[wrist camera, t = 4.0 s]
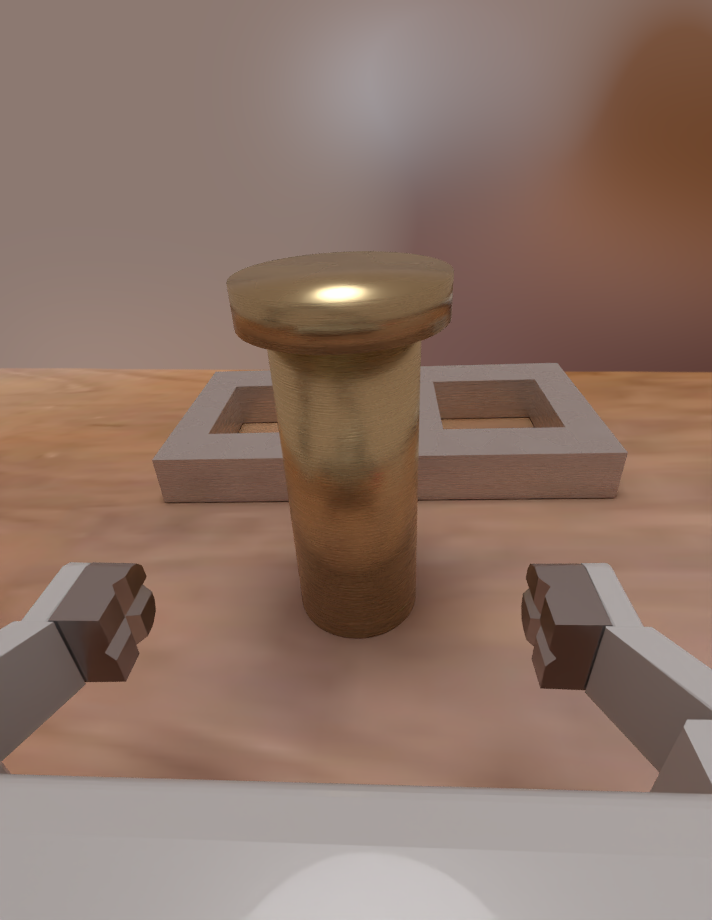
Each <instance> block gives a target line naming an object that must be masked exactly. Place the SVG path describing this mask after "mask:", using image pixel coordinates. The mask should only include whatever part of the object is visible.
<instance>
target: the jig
mask: <svg viewBox="0 0 712 920" xmlns="http://www.w3.org/2000/svg"><path fill="white" fill-rule="evenodd" d="M501 417H530V419H531V421H532V423H533V425H534V427H535V428H496V429H443V427H442V422H441V419H451V418H501ZM252 422H277V415H276V408H275V400H274V393H273V386H272V379H271V372H270V370H269V371H231V372H215V374H214V375H213V376H212V378H211V379H210V381H209V382H208V383H207V385H206V386H205V388H204V389H203V390H202V392H201V393H200V394H199V396H198V397H197V399H196V400H195V401H194V403H193V404H192V406H191V407H190V408H189V410H188V411H187V412H186V414H185V415H184V417H183V418H182V419H181V421H180V422H179V424H178V425H177V426H176V428H175V429H174V430H173V432H172V433H171V435H170V436H169V437H168V439H167V440H166V442H165V443H164V444H163V446H162V447H161V448H160V450H159V451H158V453H157V454H156V455H155V457H154V458H153V460H152V461H153V465H154V468H155V471H156V475H157V478H158V481H159V485H160V488H161V491H162V495H163V498H164V501H165V502H248V501H289V499H288V492H287V485H286V478H285V471H284V464H283V457H282V450H281V443H280V436H279V433H238V432H239V430H240V428H241V426H242V424H243V423H252ZM627 453H628V452H627V451H626V450H625V449H624V447H623V446H622V445H621V443H620V442H619V441H618V440H617V438H616V437H615V436H614V435H613V433H612V432H611V431H610V429H609V428H608V427H607V426H606V424H605V423H604V422H603V421H602V419H601V418H600V417H599V416H598V414H597V413H596V412H595V410H594V409H593V408H592V407H591V405H590V404H589V403H588V402H587V400H586V399H585V398H584V396H583V395H582V394H581V393H580V391H579V390H578V389H577V388H576V386H575V385H574V384H573V382H572V381H571V380H570V379H569V377H568V376H567V375H566V374H565V372H564V371H563V370H562V369H561V367H560V366H559V365H558V363H536V364H499V365H498V364H497V365H459V366H422V367H421V369H420V413H419V458H418V500H438V499H532V498H615V497H616V494H617V490H618V486H619V483H620V479H621V475H622V472H623V468H624V464H625V461H626V457H627Z"/></svg>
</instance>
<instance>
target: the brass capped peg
mask: <svg viewBox="0 0 712 920" xmlns="http://www.w3.org/2000/svg"><path fill="white" fill-rule="evenodd" d="M453 279H454V270H453V267H452V266H451V265H449V264H448V263H446V262H444V261H442V260H439V259H436V258H432V257H428V256H422V255H416V254H408V253H397V252H374V251H357V252H333V253H321V254H312V255H303V256H295V257H289V258H283V259H278V260H273V261H268V262H264V263H261V264H257V265H253V266H250V267H247V268H245V269H242V270H240V271H238V272H236V273H234V274H233V275H232V276H230V277H229V278H228V280H227V283H226V284H227V289H228V296H229V301H230V307H231V312H232V319H233V324H234V330H235V333H236V334H237V335H238V337H240V338H241V339H242V340H243V341H245V342H247V343H249V344H252V345H254V346H257V347H260V348H264V349H267V351H268V358H269V364H270V372H271V379H272V386H273V393H274V400H275V408H276V415H277V422H278V429H279V436H280V443H281V450H282V457H283V464H284V471H285V478H286V485H287V492H288V499H289V506H290V514H291V521H292V528H293V535H294V542H295V549H296V556H297V563H298V570H299V577H300V584H301V591H302V598H303V604H304V608H305V610H306V612H307V614H308V616H309V617H310V619H311V620H312V621H313V622H314V623H315V624H316V625H318V626H319V627H320V628H322V629H323V630H325V631H327V632H329V633H332V634H334V635H338V636H342V637H348V638H366V637H373V636H376V635H380V634H383V633H385V632H388V631H389V630H391V629H393V628H395V627H396V626H398V625H399V624H400V623H401V622H402V621H404V620H405V618H406V617H407V616H408V615H409V613H410V612H411V610H412V608H413V605H414V602H415V591H416V546H417V502H418V458H419V413H420V369H421V340H424V339H427V338H429V337H431V336H433V335H435V334H437V333H439V332H440V331H442V330H443V329H444V328H446V327H447V326H448V324H449V323H450V321H451V316H452V297H453Z"/></svg>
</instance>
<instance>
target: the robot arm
mask: <svg viewBox="0 0 712 920" xmlns="http://www.w3.org/2000/svg"><path fill="white" fill-rule="evenodd" d="M146 577H147V576H146V574H145V572H144V569H143V567H142V565H139V564H133V563H94V562H93V563H76V562H70V563H68V564H66V565H64V566H63V567H62V568H61V569H60V571H59V572H58V573H57V575H56V576H55V577H54V579H53V580H52V581H51V583H50V584H49V585H48V586H47V588H46V589H45V590H44V592H43V593H42V594H41V596H40V597H39V598H38V600H37V601H36V602H35V603H34V605H33V606H32V607H31V609H30V610H29V611H28V613H27V614H26V615H25V617H24V618H23V619H22V620H21V621H14V622H12V623H10V624H9V625H7V626H5V627H4V628H2V629H0V920H712V669H711V668H709V667H708V666H706V665H705V664H704V663H702V662H701V661H699V660H698V659H696V658H695V657H694V656H692V655H691V654H689V653H688V652H687V651H685V650H684V649H682V648H681V647H679V646H678V645H677V644H675V643H674V642H672V641H671V640H670V639H668V638H667V637H665V636H664V635H663V634H661V633H660V632H658V631H657V630H655V629H654V628H653V627H644V626H643V624H642V622H641V620H640V619H639V617H638V615H637V613H636V611H635V609H634V608H633V606H632V604H631V602H630V600H629V598H628V597H627V595H626V593H625V591H624V589H623V587H622V586H621V584H620V582H619V580H618V578H617V576H616V575H615V573H614V571H613V569H612V567H611V566H610V565H609V564H607V563H581V564H530V565H529V567H528V570H527V575H526V580H527V583H528V586H529V589H528V590H527V591H526V592H524V593H523V598H522V605H521V611H522V624H523V629H524V633H525V637H526V640H527V641H528V642H529V643H530V644H532V645H533V646H534V649H533V654H532V662H533V665H534V668H535V672H536V675H537V679H538V682H539V686H540V688H544V689H567V690H586V691H585V693H586V694H587V695H588V696H589V697H590V698H591V699H592V701H593V702H594V703H595V704H596V705H597V706H598V707H599V708H600V709H601V710H602V711H603V712H604V713H605V715H606V716H607V717H608V718H609V719H610V720H611V721H612V722H613V723H614V724H615V725H616V726H617V727H618V728H619V730H620V731H621V732H622V733H623V734H624V735H625V736H626V737H627V738H628V739H629V740H630V741H631V742H632V744H633V745H634V746H635V747H636V748H637V749H638V750H639V751H640V752H641V753H642V754H643V755H644V756H645V757H646V759H647V760H648V761H649V762H650V763H651V764H652V765H653V766H654V767H655V768H656V769H657V770H658V771H659V775H658V777H657V779H656V781H655V783H654V785H653V787H652V789H651V791H650V792H623V791H588V790H552V789H517V788H481V787H445V786H410V785H374V784H338V783H302V782H266V781H230V780H194V779H159V778H124V777H88V776H53V775H18V774H11V773H10V772H9V771H8V769H7V768H6V767H5V765H4V764H3V763H2V762H1V761H3V760H4V759H5V758H6V757H7V756H8V755H9V754H10V753H11V752H12V751H13V750H15V749H16V748H17V747H18V746H19V745H20V744H21V743H22V742H23V741H24V740H25V739H27V738H28V737H29V736H30V735H31V734H32V733H33V732H34V731H35V730H36V729H37V728H39V727H40V726H41V725H42V724H43V723H44V722H45V721H46V720H47V719H48V718H50V717H51V716H52V715H53V714H54V713H55V712H56V711H57V710H58V709H59V708H60V707H62V706H63V705H64V704H65V703H66V702H67V701H68V700H69V699H70V698H71V697H72V696H74V695H75V694H76V693H77V692H78V691H79V690H80V689H81V688H82V687H83V686H84V685H85V684H86V683H85V682H126V680H127V678H128V676H129V674H130V672H131V670H132V668H133V666H134V664H135V662H136V660H137V658H138V656H139V651H138V648H137V644H138V643H139V642H141V641H142V640H143V639H145V638H146V637H147V636H148V635H149V632H150V630H151V628H152V626H153V623H154V617H155V612H156V609H155V599H154V596H153V593H152V592H151V591H150V590H149V589H148V588H146V587H145V586H144V585H143V583H144V581H145V579H146Z"/></svg>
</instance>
